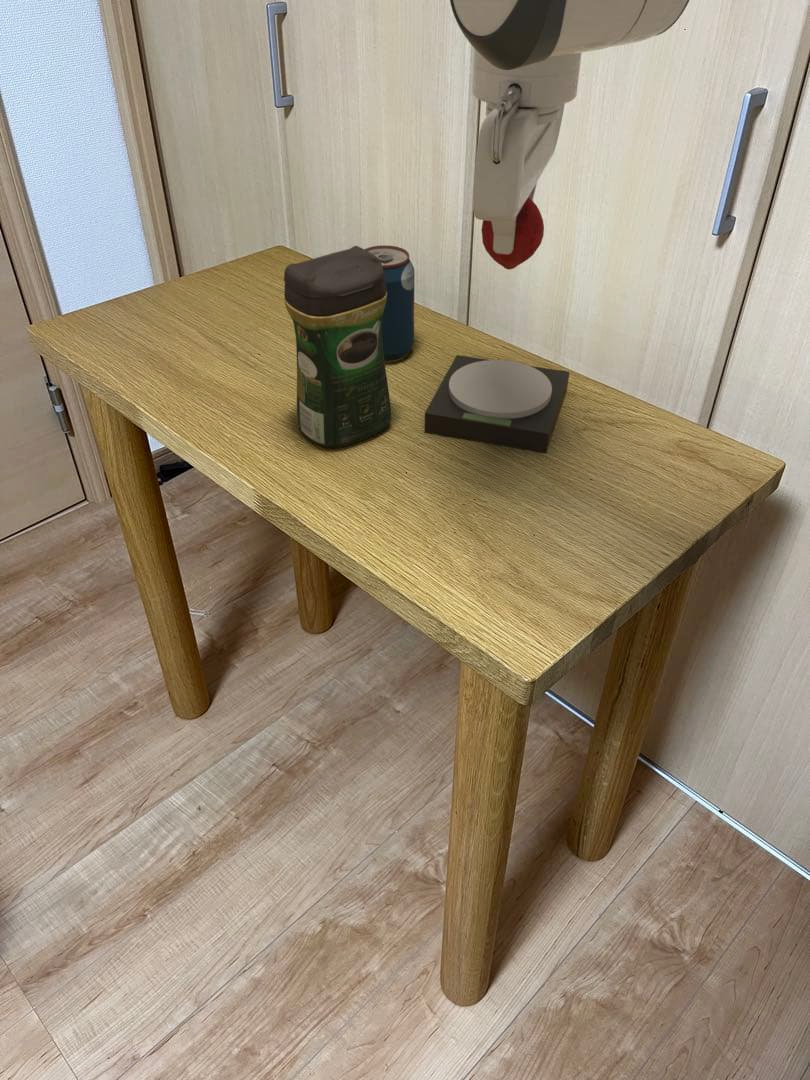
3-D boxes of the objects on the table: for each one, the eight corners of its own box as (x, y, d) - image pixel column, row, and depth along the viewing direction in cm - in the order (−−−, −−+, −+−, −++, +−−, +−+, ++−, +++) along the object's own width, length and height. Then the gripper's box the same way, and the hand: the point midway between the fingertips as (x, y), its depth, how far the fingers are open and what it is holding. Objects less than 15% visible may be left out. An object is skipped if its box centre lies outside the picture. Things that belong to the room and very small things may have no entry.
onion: (542, 282, 80) (551, 194, 74) (480, 281, 80) (486, 194, 74) (536, 257, 84) (544, 173, 79) (478, 256, 84) (482, 173, 79)
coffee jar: (361, 396, 95) (354, 232, 83) (402, 428, 90) (401, 258, 78) (285, 424, 91) (266, 255, 79) (324, 459, 86) (311, 284, 74)
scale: (566, 390, 96) (570, 365, 94) (546, 453, 87) (549, 426, 84) (455, 373, 99) (456, 348, 97) (424, 432, 90) (424, 406, 87)
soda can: (425, 351, 103) (427, 254, 95) (385, 371, 99) (384, 273, 91) (385, 332, 107) (383, 238, 99) (345, 352, 103) (340, 255, 95)
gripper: (540, 106, 63) (523, 285, 72) (581, 50, 77) (563, 204, 86) (457, 100, 64) (451, 276, 73) (513, 45, 79) (502, 197, 88)
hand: (512, 236), depth 80 cm, fingers closed on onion, 6 cm apart
